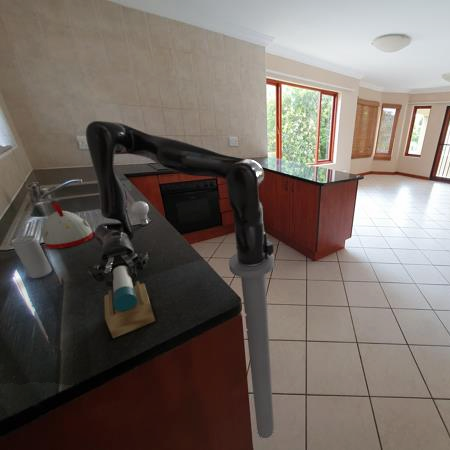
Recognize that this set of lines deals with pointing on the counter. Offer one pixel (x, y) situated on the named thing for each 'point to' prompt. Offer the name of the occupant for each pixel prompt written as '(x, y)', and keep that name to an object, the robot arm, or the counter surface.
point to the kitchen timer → (65, 229)
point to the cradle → (128, 313)
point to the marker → (123, 289)
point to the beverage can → (32, 256)
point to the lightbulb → (141, 211)
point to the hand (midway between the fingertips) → (122, 279)
